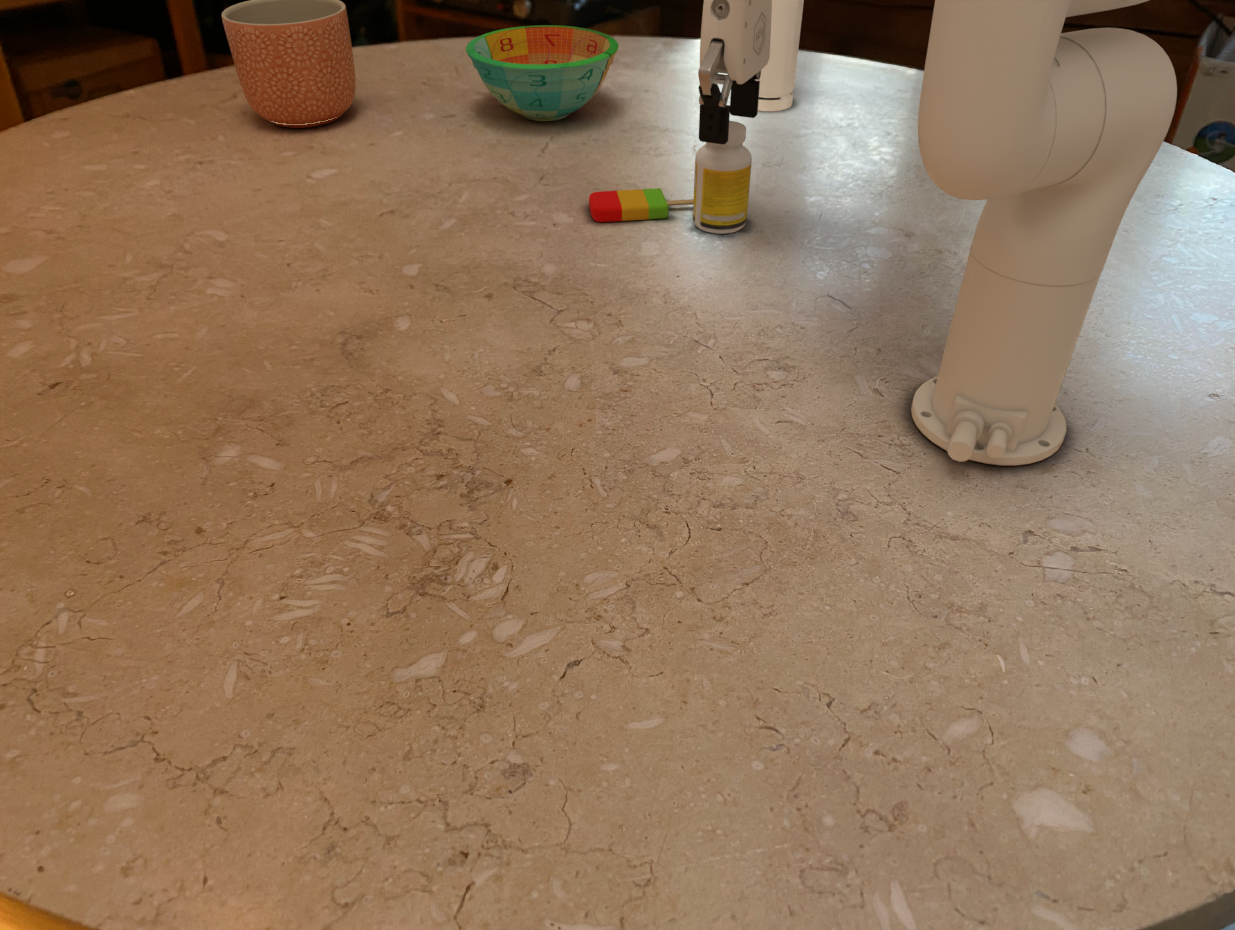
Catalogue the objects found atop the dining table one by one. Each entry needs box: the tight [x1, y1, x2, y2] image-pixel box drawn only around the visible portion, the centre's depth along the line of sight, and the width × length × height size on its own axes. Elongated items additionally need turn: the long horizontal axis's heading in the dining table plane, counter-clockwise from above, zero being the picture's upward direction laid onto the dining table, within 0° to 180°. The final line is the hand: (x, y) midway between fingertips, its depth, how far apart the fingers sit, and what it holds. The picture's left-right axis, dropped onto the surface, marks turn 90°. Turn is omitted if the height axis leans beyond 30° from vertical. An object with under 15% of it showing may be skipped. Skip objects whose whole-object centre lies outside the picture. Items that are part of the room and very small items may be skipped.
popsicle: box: [588, 187, 694, 223], centre depth 115 cm, size 6×15×2 cm, turn 98°
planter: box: [221, 0, 357, 129], centre depth 138 cm, size 17×17×15 cm
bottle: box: [756, 0, 805, 112], centre depth 138 cm, size 8×8×28 cm
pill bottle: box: [692, 120, 753, 235], centre depth 109 cm, size 6×6×12 cm
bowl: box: [465, 24, 619, 122], centre depth 140 cm, size 22×22×10 cm
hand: (728, 128), depth 105 cm, fingers open, 9 cm apart
